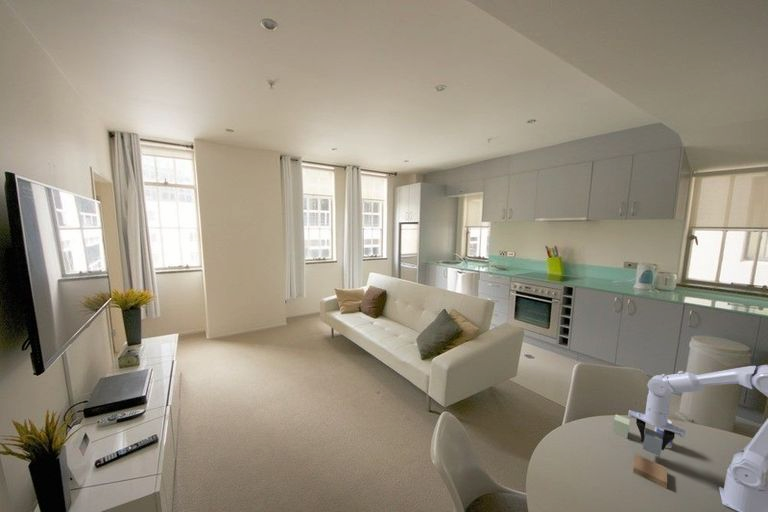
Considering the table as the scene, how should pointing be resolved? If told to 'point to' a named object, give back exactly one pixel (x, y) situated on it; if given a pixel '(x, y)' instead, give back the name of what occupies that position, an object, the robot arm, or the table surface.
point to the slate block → (653, 441)
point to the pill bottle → (662, 433)
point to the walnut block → (650, 470)
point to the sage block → (621, 426)
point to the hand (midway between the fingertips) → (652, 444)
